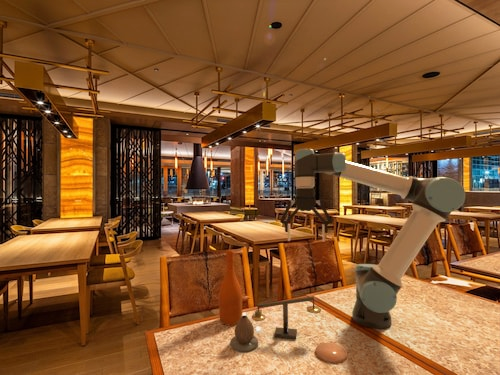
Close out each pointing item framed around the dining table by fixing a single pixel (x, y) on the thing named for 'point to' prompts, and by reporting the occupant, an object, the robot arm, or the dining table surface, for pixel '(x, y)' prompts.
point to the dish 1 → (244, 345)
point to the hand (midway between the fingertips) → (306, 240)
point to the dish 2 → (331, 352)
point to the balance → (285, 316)
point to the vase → (244, 330)
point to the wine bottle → (230, 294)
